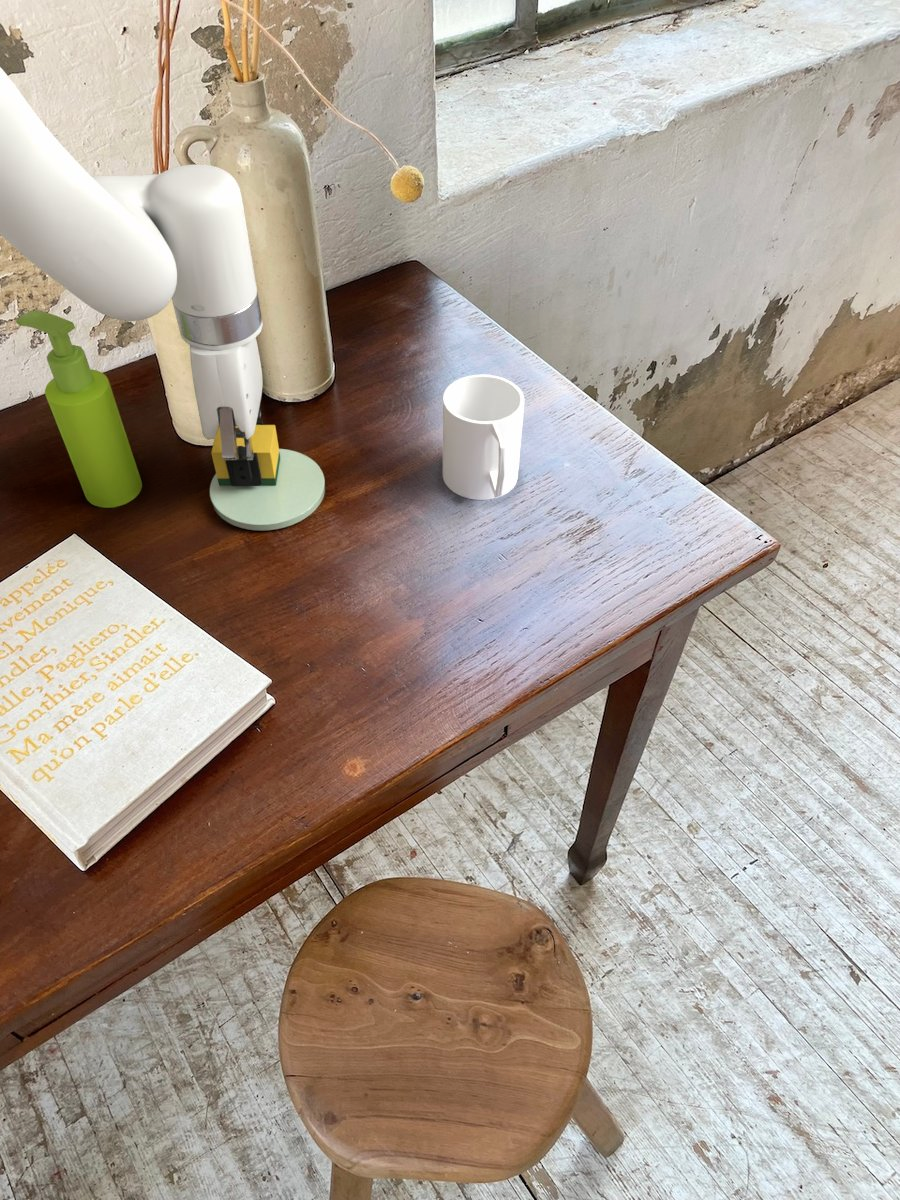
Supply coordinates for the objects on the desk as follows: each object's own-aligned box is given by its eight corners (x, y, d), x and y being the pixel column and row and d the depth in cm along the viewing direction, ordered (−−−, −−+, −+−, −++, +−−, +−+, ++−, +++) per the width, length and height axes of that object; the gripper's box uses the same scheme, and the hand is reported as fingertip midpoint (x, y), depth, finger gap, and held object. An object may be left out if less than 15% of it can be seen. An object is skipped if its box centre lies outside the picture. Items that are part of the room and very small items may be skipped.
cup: (460, 529, 93) (462, 453, 85) (435, 455, 100) (435, 379, 93) (537, 518, 94) (545, 442, 86) (506, 445, 101) (512, 370, 94)
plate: (203, 533, 92) (200, 524, 91) (220, 456, 100) (218, 448, 99) (321, 532, 92) (320, 524, 91) (329, 456, 100) (328, 447, 99)
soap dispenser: (102, 462, 99) (42, 295, 84) (153, 481, 97) (101, 314, 82) (65, 494, 95) (-5, 326, 80) (117, 514, 93) (56, 346, 78)
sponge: (218, 486, 95) (210, 452, 91) (224, 458, 98) (217, 424, 94) (276, 485, 95) (270, 452, 91) (280, 457, 98) (275, 424, 94)
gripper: (192, 266, 88) (225, 418, 101) (159, 368, 76) (201, 523, 90) (270, 266, 88) (292, 418, 101) (248, 367, 77) (277, 522, 90)
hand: (249, 466), depth 96 cm, fingers closed on sponge, 4 cm apart
